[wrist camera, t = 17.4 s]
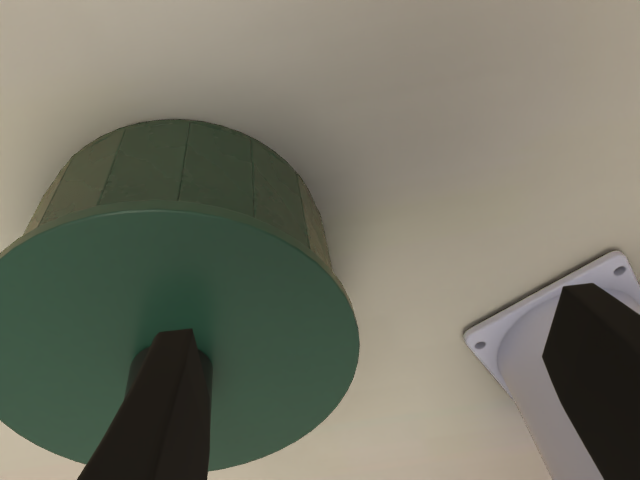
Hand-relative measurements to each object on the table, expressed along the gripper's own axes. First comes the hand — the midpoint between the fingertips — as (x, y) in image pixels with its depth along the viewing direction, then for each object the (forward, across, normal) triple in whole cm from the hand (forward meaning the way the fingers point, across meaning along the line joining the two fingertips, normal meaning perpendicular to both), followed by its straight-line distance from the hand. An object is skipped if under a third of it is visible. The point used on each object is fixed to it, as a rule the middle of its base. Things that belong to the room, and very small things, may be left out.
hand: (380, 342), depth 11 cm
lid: (+5, +5, +5) cm, 8 cm away
